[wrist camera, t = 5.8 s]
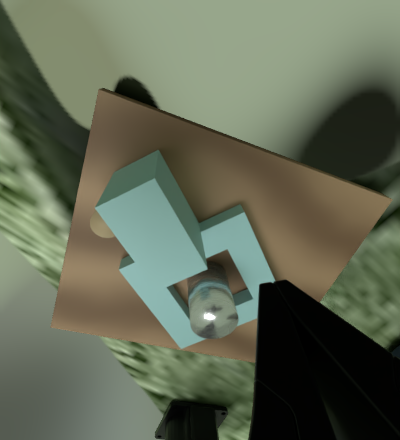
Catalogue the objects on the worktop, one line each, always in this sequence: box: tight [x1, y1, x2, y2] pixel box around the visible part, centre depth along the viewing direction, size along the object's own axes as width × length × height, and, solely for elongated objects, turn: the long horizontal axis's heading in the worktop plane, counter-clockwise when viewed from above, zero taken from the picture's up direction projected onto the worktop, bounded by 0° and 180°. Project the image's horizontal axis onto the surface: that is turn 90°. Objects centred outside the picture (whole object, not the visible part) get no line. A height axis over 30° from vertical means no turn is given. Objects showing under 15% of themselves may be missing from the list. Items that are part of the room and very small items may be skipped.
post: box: [187, 261, 239, 339], centre depth 20 cm, size 3×3×4 cm
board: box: [51, 88, 392, 363], centre depth 22 cm, size 18×20×1 cm
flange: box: [95, 150, 275, 349], centre depth 18 cm, size 14×9×5 cm, turn 25°
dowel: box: [90, 210, 115, 238], centre depth 16 cm, size 2×2×4 cm
